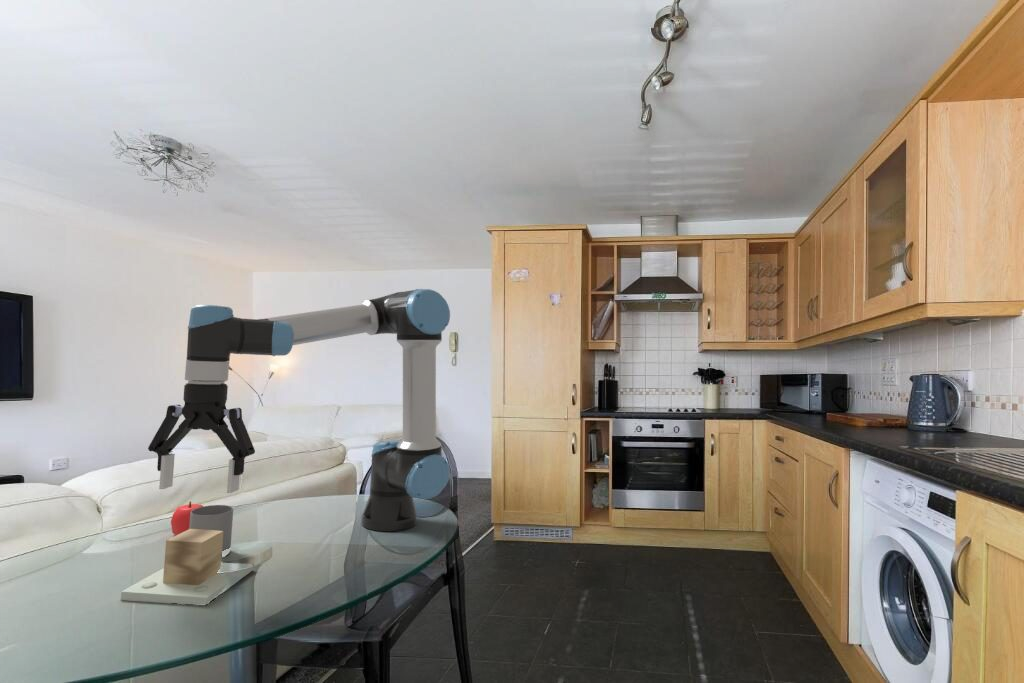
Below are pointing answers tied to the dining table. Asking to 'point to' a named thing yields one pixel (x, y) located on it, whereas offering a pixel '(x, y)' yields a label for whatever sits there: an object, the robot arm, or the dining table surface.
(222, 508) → the cup
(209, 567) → the oak block
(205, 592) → the plate
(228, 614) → the dining table surface
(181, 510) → the apple
